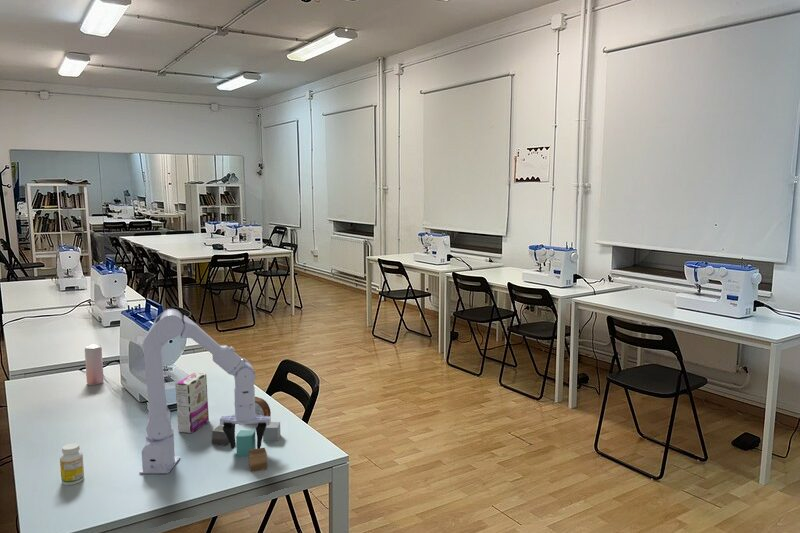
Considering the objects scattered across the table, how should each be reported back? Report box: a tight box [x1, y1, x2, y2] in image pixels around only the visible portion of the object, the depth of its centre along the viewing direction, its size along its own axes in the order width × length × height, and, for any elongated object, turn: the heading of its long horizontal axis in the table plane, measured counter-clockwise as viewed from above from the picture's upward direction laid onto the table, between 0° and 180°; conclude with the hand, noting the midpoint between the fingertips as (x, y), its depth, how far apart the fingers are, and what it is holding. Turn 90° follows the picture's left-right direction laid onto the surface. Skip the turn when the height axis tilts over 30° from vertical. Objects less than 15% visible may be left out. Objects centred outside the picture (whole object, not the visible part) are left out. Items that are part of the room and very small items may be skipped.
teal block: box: [235, 429, 257, 457], centre depth 175 cm, size 4×4×6 cm
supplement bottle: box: [59, 442, 85, 486], centre depth 157 cm, size 5×5×10 cm
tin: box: [255, 396, 272, 416], centre depth 198 cm, size 15×3×8 cm, turn 57°
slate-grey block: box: [262, 421, 281, 442], centre depth 185 cm, size 4×4×4 cm
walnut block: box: [248, 447, 268, 473], centre depth 166 cm, size 4×4×4 cm
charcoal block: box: [211, 424, 230, 447], centre depth 182 cm, size 4×4×4 cm
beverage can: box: [84, 344, 105, 386], centre depth 234 cm, size 6×6×15 cm
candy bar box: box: [175, 372, 210, 434], centre depth 193 cm, size 11×5×16 cm, turn 168°
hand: (246, 447), depth 175 cm, fingers open, 7 cm apart
